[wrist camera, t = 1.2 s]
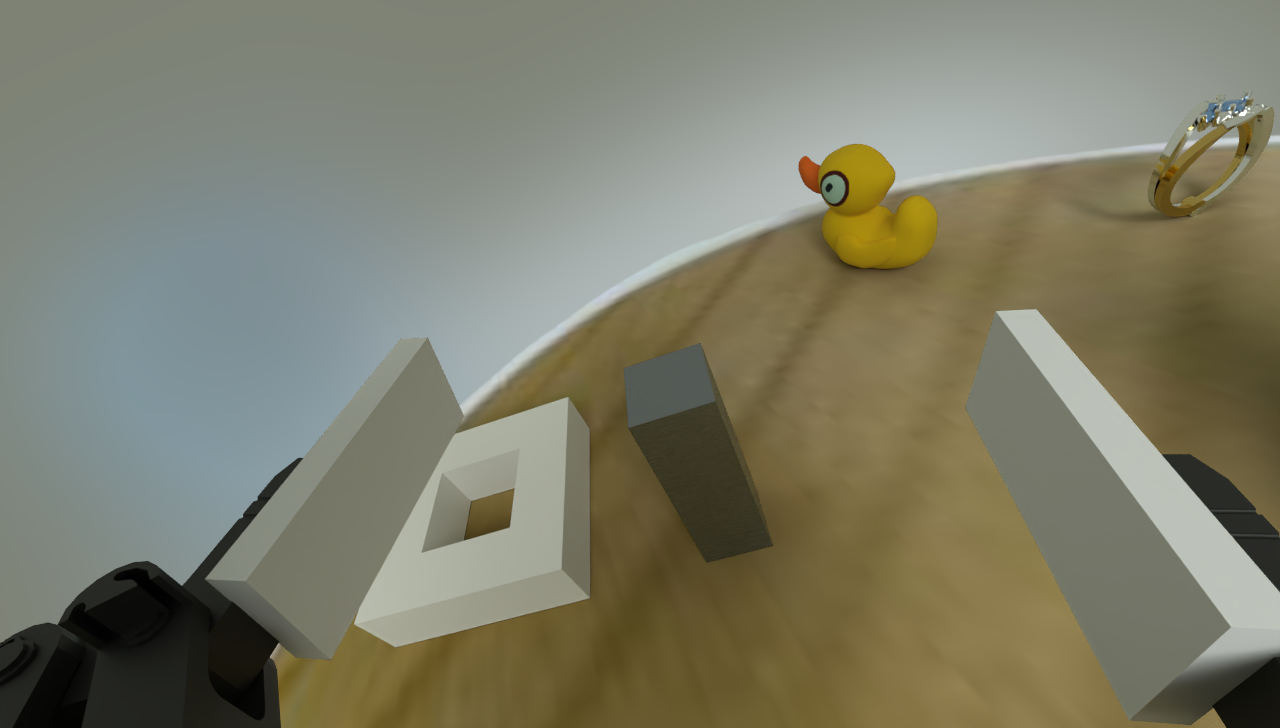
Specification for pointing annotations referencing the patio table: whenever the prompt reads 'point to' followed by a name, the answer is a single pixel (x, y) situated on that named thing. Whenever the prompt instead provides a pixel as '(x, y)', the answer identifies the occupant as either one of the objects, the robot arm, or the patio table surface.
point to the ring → (1223, 117)
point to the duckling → (868, 210)
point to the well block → (500, 561)
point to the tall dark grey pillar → (695, 452)
